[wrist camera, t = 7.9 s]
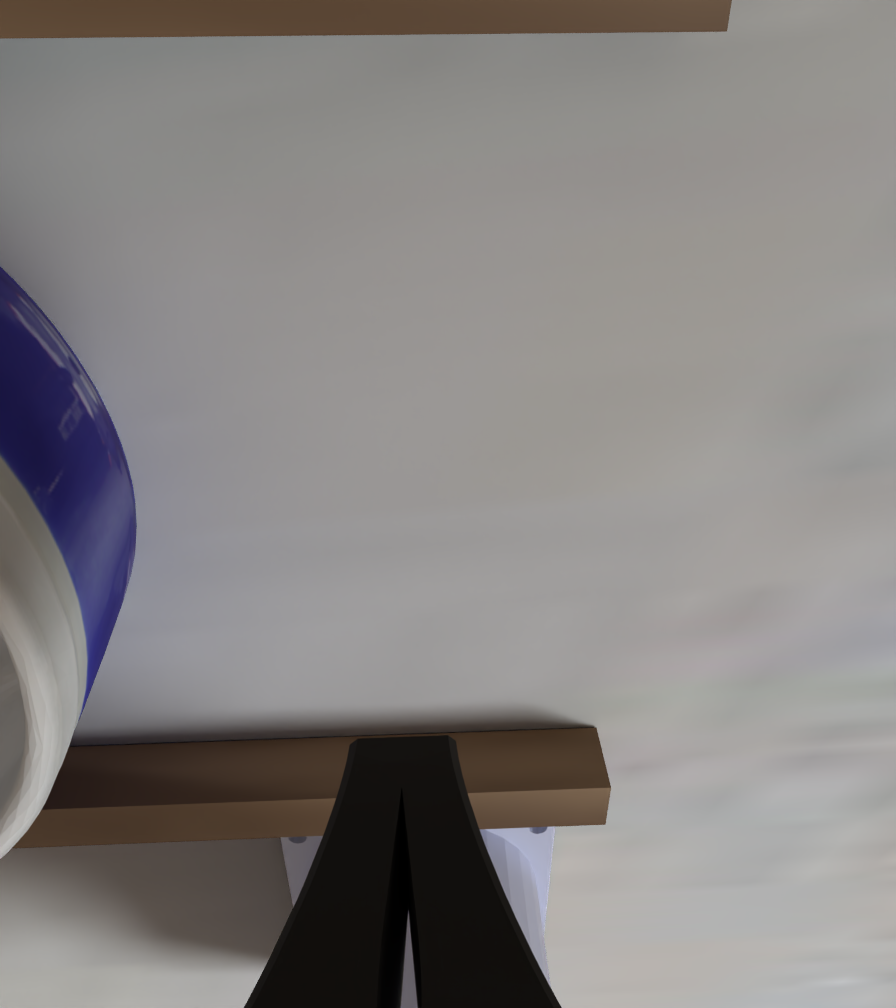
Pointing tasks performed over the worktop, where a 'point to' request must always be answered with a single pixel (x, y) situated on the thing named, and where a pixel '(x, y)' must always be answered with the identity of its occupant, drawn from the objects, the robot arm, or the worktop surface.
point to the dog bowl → (52, 551)
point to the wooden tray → (321, 761)
